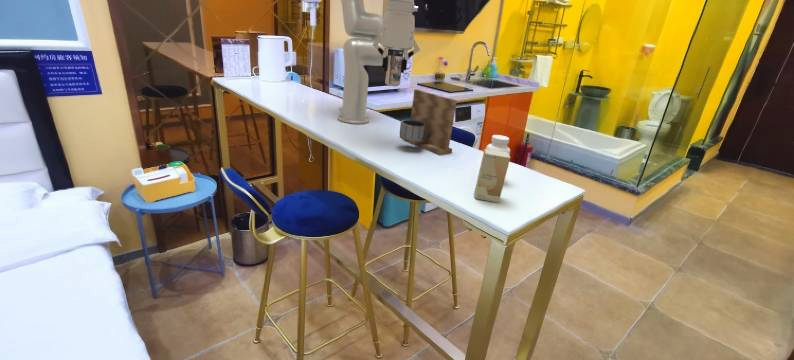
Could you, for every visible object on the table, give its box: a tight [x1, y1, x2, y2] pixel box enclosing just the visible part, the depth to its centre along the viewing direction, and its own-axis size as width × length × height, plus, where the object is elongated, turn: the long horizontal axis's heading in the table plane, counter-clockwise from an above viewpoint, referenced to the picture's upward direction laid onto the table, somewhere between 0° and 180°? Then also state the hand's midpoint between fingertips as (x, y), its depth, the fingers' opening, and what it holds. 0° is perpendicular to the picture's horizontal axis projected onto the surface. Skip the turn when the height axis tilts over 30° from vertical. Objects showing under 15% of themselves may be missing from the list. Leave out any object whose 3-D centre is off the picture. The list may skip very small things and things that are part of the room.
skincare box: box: [473, 148, 511, 203], centre depth 96 cm, size 6×4×12 cm
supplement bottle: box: [485, 134, 511, 156], centre depth 108 cm, size 7×7×13 cm
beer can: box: [384, 47, 404, 87], centre depth 120 cm, size 5×5×12 cm
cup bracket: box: [399, 88, 458, 156], centre depth 128 cm, size 18×15×18 cm
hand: (393, 71), depth 121 cm, fingers closed on beer can, 4 cm apart
